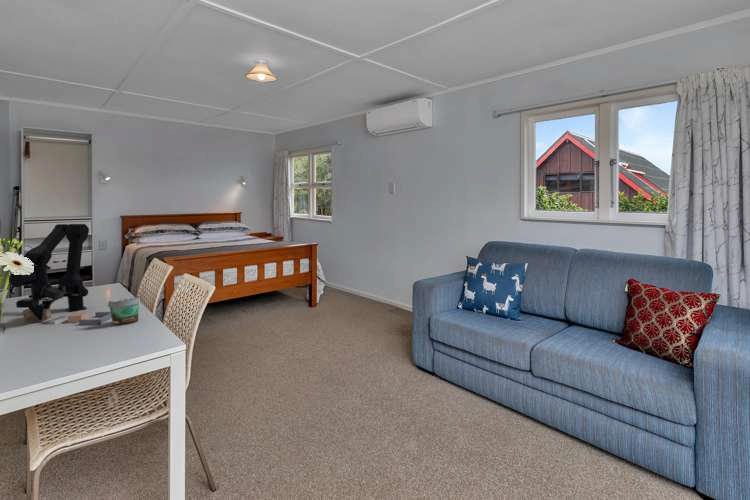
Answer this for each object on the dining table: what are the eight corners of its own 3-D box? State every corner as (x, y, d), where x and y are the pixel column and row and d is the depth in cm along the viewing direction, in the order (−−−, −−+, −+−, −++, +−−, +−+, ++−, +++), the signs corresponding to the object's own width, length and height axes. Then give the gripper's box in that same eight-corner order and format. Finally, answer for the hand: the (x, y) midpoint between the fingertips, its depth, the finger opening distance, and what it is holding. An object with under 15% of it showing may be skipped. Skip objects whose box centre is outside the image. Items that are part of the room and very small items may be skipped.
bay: (79, 324, 168) (78, 320, 167) (96, 316, 179) (96, 311, 179) (99, 324, 168) (99, 319, 168) (116, 316, 180) (115, 311, 180)
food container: (117, 328, 164) (115, 303, 162) (109, 325, 167) (107, 301, 166) (148, 320, 174) (146, 297, 173) (139, 318, 177) (138, 295, 176)
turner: (18, 324, 168) (17, 312, 167) (33, 318, 176) (32, 307, 175) (55, 323, 169) (54, 311, 168) (68, 318, 177) (67, 306, 176)
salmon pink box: (68, 323, 170) (67, 316, 170) (75, 319, 175) (74, 312, 175) (81, 322, 171) (80, 315, 171) (88, 319, 176) (87, 312, 176)
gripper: (43, 286, 161) (47, 325, 163) (74, 277, 180) (77, 312, 182) (13, 286, 161) (17, 325, 163) (47, 277, 179) (50, 312, 181)
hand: (42, 318), depth 172 cm, fingers closed on turner, 2 cm apart
